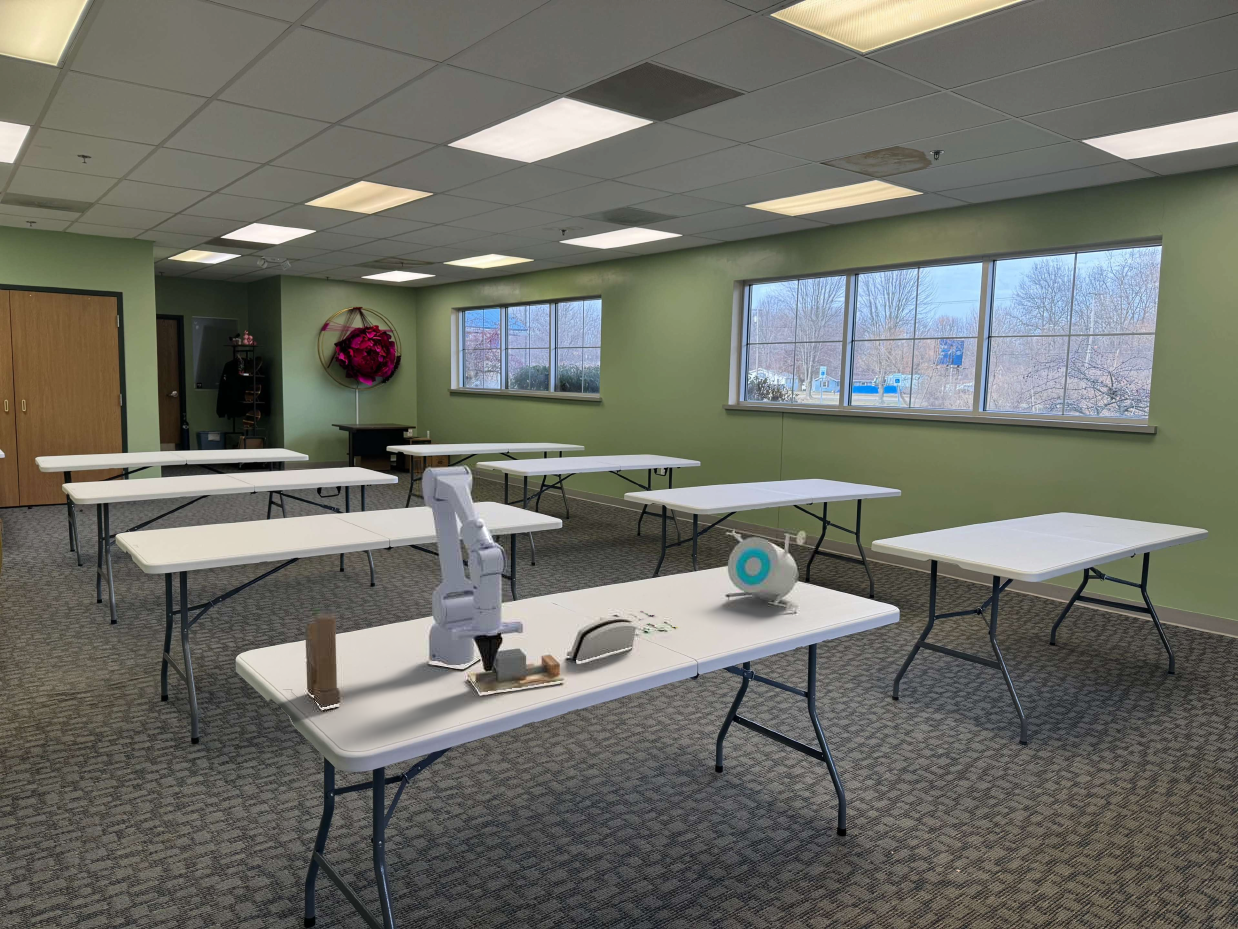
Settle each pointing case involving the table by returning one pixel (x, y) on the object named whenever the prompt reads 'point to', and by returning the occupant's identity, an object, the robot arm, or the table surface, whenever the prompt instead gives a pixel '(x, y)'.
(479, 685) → the rail
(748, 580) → the satellite
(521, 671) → the clip
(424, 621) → the table surface
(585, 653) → the grey rounded block
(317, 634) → the wooden block
